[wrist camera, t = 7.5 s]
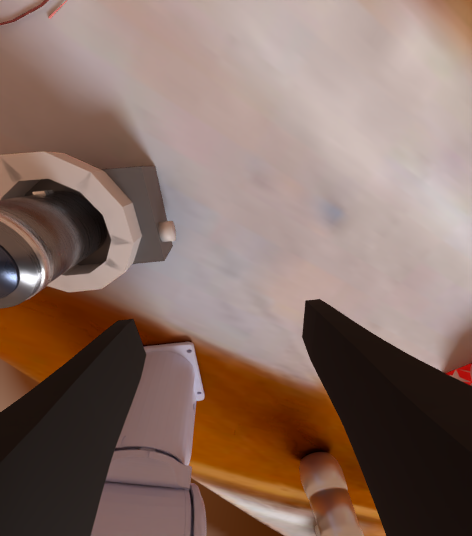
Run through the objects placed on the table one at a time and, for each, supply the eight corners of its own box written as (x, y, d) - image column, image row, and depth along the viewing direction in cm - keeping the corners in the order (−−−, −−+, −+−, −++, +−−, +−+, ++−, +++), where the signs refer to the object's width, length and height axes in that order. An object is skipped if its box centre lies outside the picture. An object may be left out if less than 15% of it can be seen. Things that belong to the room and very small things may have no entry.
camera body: (184, 255, 18) (174, 281, 14) (54, 267, 18) (5, 298, 13) (163, 149, 14) (142, 143, 10) (0, 162, 14) (-88, 161, 10)
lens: (116, 251, 14) (52, 306, 9) (54, 257, 14) (-51, 316, 9) (93, 185, 12) (-7, 202, 7) (21, 191, 12) (-140, 213, 7)
